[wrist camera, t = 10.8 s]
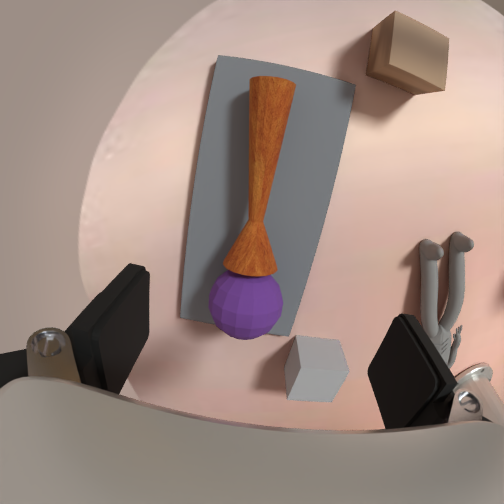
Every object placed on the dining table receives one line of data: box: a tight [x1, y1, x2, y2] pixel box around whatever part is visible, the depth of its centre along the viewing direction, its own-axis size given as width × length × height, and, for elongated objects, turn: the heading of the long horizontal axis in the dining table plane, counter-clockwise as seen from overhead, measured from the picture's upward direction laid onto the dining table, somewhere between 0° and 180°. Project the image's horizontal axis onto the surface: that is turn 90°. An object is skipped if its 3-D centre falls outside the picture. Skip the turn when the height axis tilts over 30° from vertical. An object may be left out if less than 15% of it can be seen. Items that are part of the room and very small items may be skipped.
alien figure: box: [419, 232, 474, 369], centre depth 28 cm, size 8×5×25 cm
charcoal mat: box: [180, 55, 356, 336], centre depth 24 cm, size 24×11×1 cm, turn 169°
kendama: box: [208, 76, 296, 340], centre depth 21 cm, size 6×6×20 cm
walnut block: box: [366, 11, 449, 95], centre depth 16 cm, size 5×5×5 cm
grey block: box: [284, 335, 349, 402], centre depth 28 cm, size 5×5×5 cm
